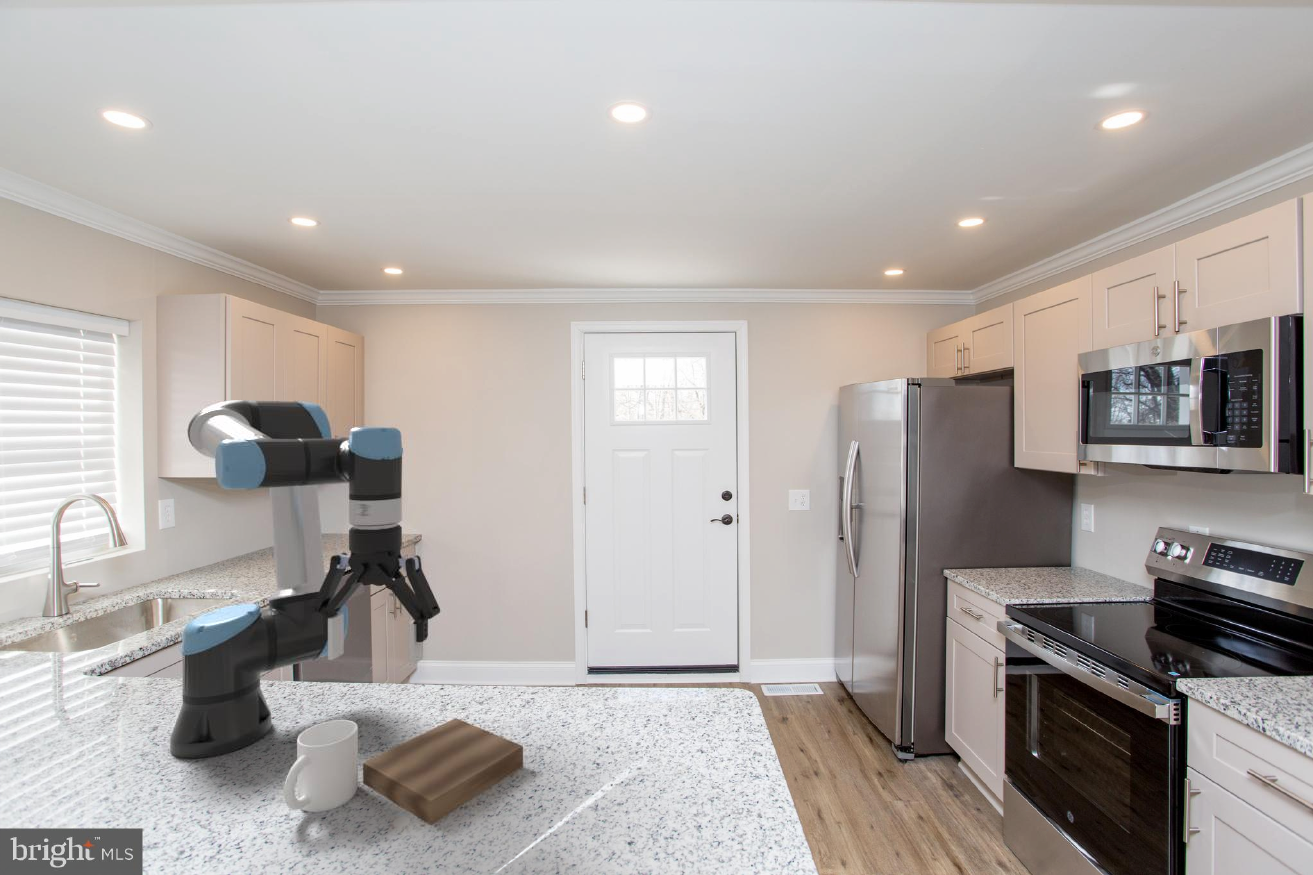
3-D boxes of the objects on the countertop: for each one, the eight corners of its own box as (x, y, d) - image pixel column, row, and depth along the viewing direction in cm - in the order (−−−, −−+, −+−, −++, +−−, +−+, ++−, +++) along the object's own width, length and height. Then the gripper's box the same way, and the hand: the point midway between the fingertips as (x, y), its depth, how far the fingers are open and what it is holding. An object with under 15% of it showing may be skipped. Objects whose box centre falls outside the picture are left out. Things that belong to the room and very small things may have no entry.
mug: (308, 835, 83) (307, 763, 83) (262, 825, 85) (261, 755, 85) (369, 786, 95) (369, 723, 95) (327, 778, 97) (327, 716, 97)
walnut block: (363, 786, 95) (362, 762, 95) (455, 739, 110) (455, 717, 110) (430, 828, 85) (430, 800, 85) (523, 769, 100) (522, 745, 100)
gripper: (285, 526, 90) (285, 663, 90) (439, 531, 87) (438, 673, 87) (319, 519, 97) (319, 645, 98) (462, 523, 94) (461, 654, 95)
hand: (375, 659), depth 92 cm, fingers open, 13 cm apart
